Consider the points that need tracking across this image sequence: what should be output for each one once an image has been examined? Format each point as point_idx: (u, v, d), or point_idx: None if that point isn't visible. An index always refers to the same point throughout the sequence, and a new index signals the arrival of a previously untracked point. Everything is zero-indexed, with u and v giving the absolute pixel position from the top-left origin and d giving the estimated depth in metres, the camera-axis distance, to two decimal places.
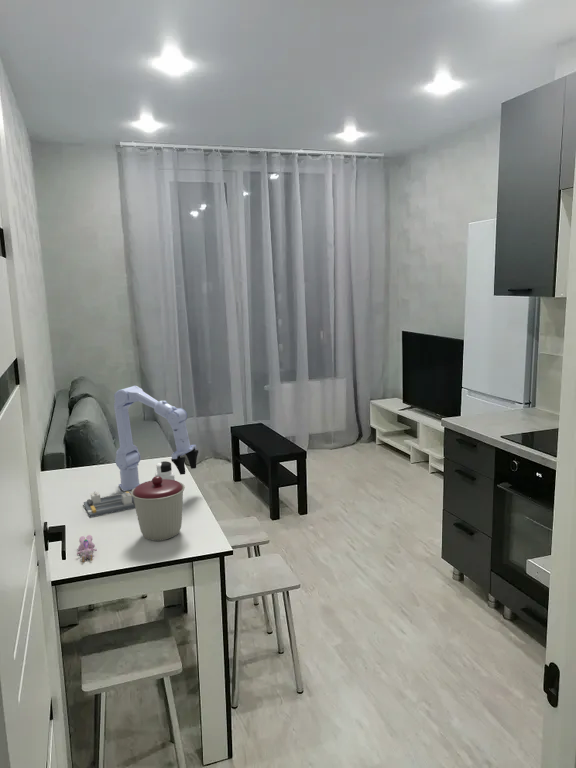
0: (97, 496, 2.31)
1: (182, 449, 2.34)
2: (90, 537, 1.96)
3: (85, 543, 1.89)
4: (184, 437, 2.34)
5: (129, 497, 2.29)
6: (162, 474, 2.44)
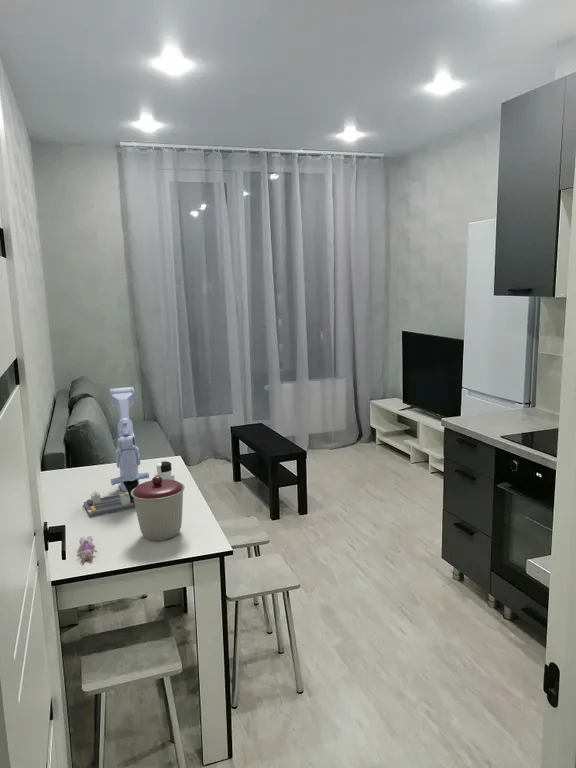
0: (97, 496, 2.31)
1: (124, 477, 2.28)
2: (90, 538, 1.95)
3: (85, 544, 1.89)
4: (125, 466, 2.26)
5: (127, 497, 2.29)
6: (162, 474, 2.44)
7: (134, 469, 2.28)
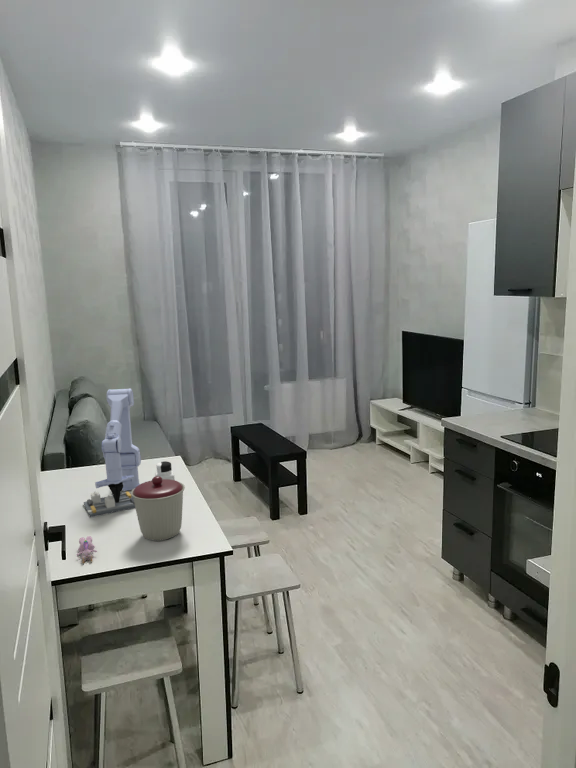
0: (97, 496, 2.31)
1: (108, 480, 2.25)
2: (90, 538, 1.95)
3: (85, 544, 1.89)
4: (108, 468, 2.24)
5: (112, 500, 2.26)
6: (162, 474, 2.44)
7: (119, 472, 2.25)
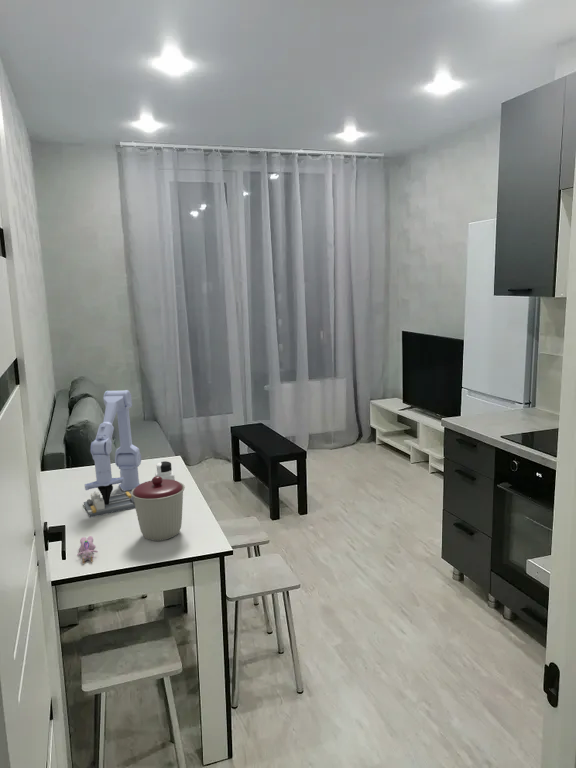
0: (97, 496, 2.31)
1: (98, 482, 2.23)
2: (91, 538, 1.95)
3: (85, 544, 1.88)
4: (97, 470, 2.22)
5: (102, 503, 2.24)
6: (162, 474, 2.44)
7: (108, 474, 2.24)
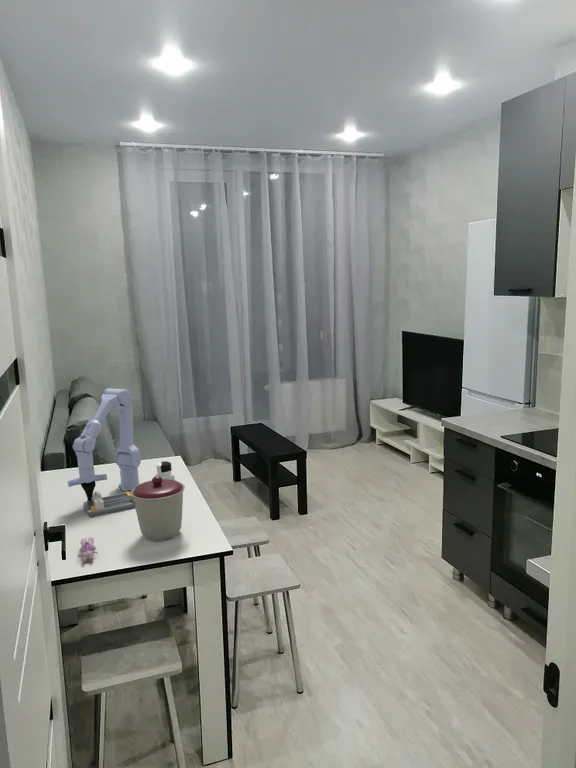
0: (98, 496, 2.31)
1: (81, 478, 2.28)
2: (91, 539, 1.94)
3: (86, 545, 1.88)
4: (78, 467, 2.28)
5: (101, 503, 2.24)
6: (162, 474, 2.44)
7: (91, 471, 2.28)
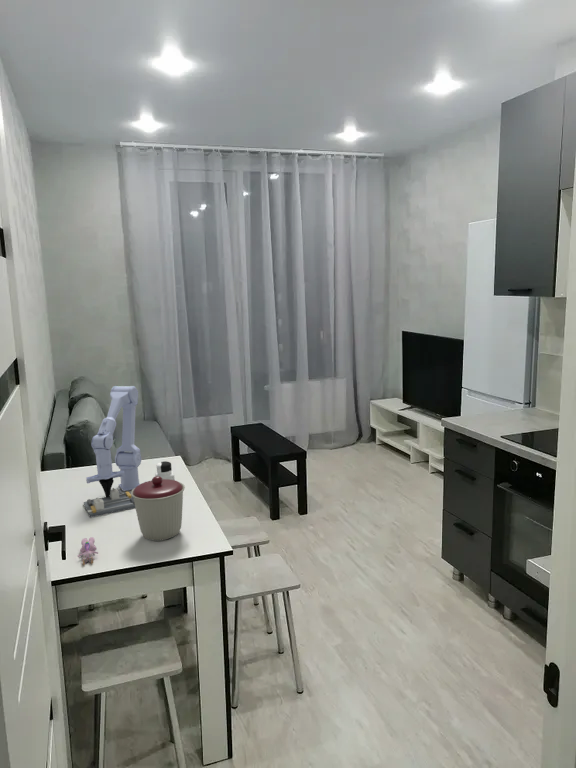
0: (116, 492, 2.34)
1: (99, 475, 2.31)
2: (92, 539, 1.94)
3: (86, 546, 1.87)
4: (97, 464, 2.31)
5: (101, 503, 2.24)
6: (162, 474, 2.44)
7: (109, 467, 2.32)
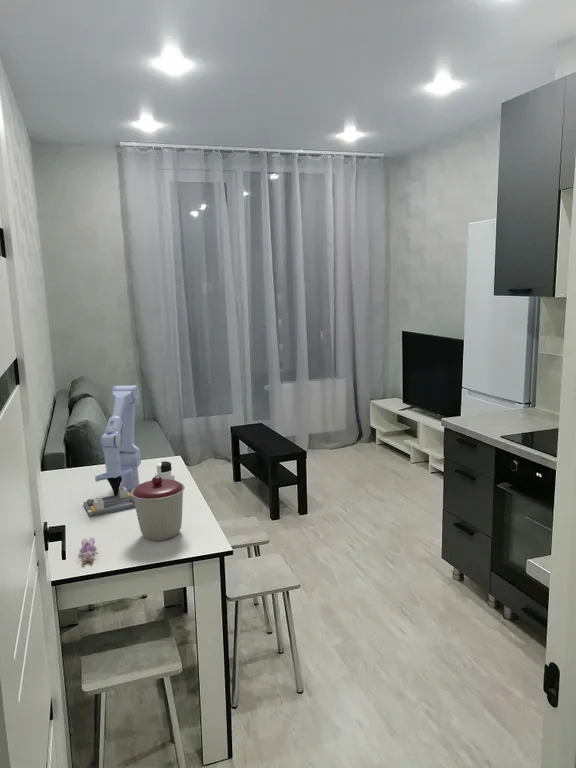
0: (124, 490, 2.36)
1: (107, 473, 2.33)
2: (92, 540, 1.94)
3: (86, 546, 1.87)
4: (106, 462, 2.32)
5: (101, 503, 2.24)
6: (162, 474, 2.44)
7: (118, 466, 2.33)
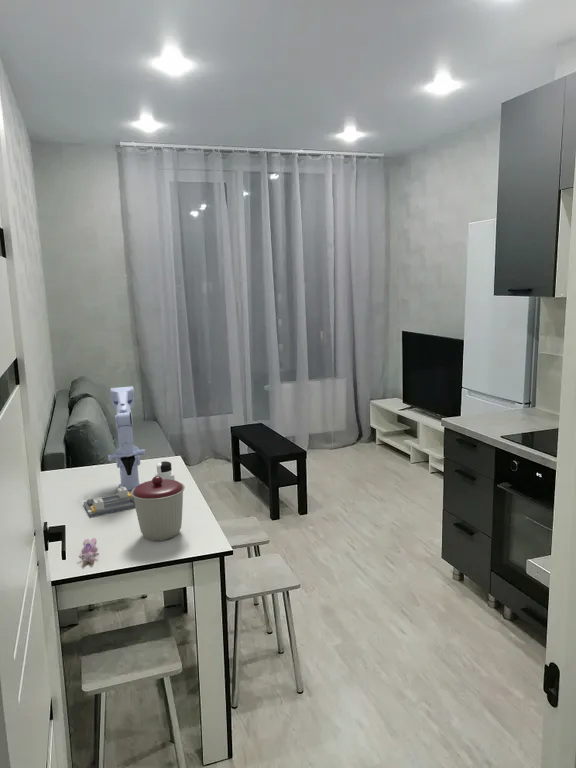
0: (124, 490, 2.36)
1: (121, 452, 2.33)
2: (94, 540, 1.93)
3: (87, 546, 1.87)
4: (122, 442, 2.32)
5: (101, 503, 2.24)
6: (162, 474, 2.44)
7: (131, 445, 2.34)
